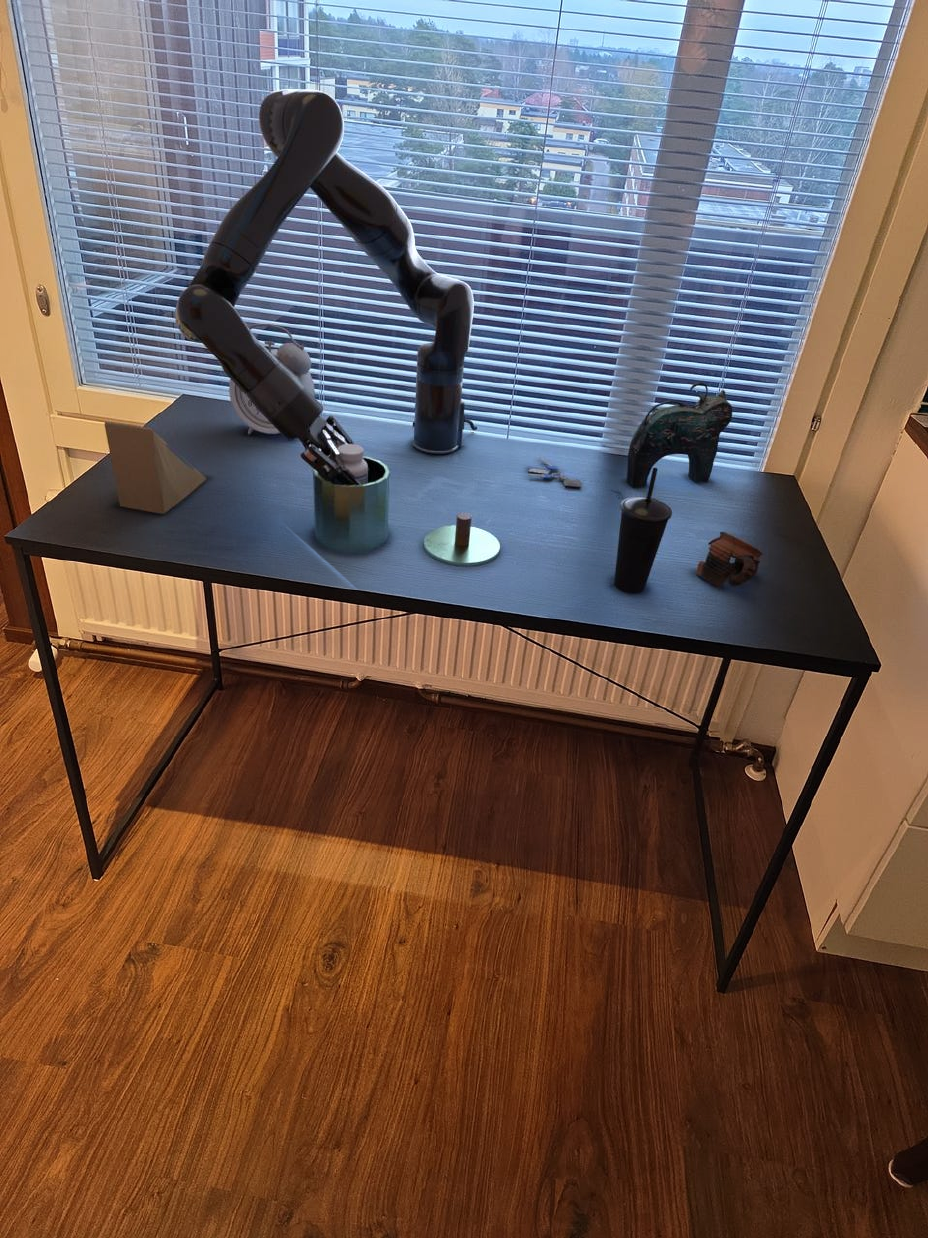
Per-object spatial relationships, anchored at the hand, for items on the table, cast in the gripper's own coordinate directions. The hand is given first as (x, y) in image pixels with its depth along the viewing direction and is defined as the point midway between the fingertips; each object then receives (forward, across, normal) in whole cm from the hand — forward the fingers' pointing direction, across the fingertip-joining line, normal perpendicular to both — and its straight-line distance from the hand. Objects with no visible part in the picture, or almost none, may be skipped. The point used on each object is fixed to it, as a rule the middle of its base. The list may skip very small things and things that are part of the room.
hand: (361, 482), depth 131 cm
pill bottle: (+2, 0, +4) cm, 5 cm away
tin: (+6, 0, +8) cm, 10 cm away
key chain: (+29, +32, -15) cm, 46 cm away
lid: (+18, 0, -5) cm, 19 cm away
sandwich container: (-18, +9, +33) cm, 39 cm away
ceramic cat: (+46, +36, -32) cm, 67 cm away
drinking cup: (+38, -6, -24) cm, 46 cm away
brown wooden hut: (+50, 0, -36) cm, 62 cm away
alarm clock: (-11, +40, +26) cm, 49 cm away
